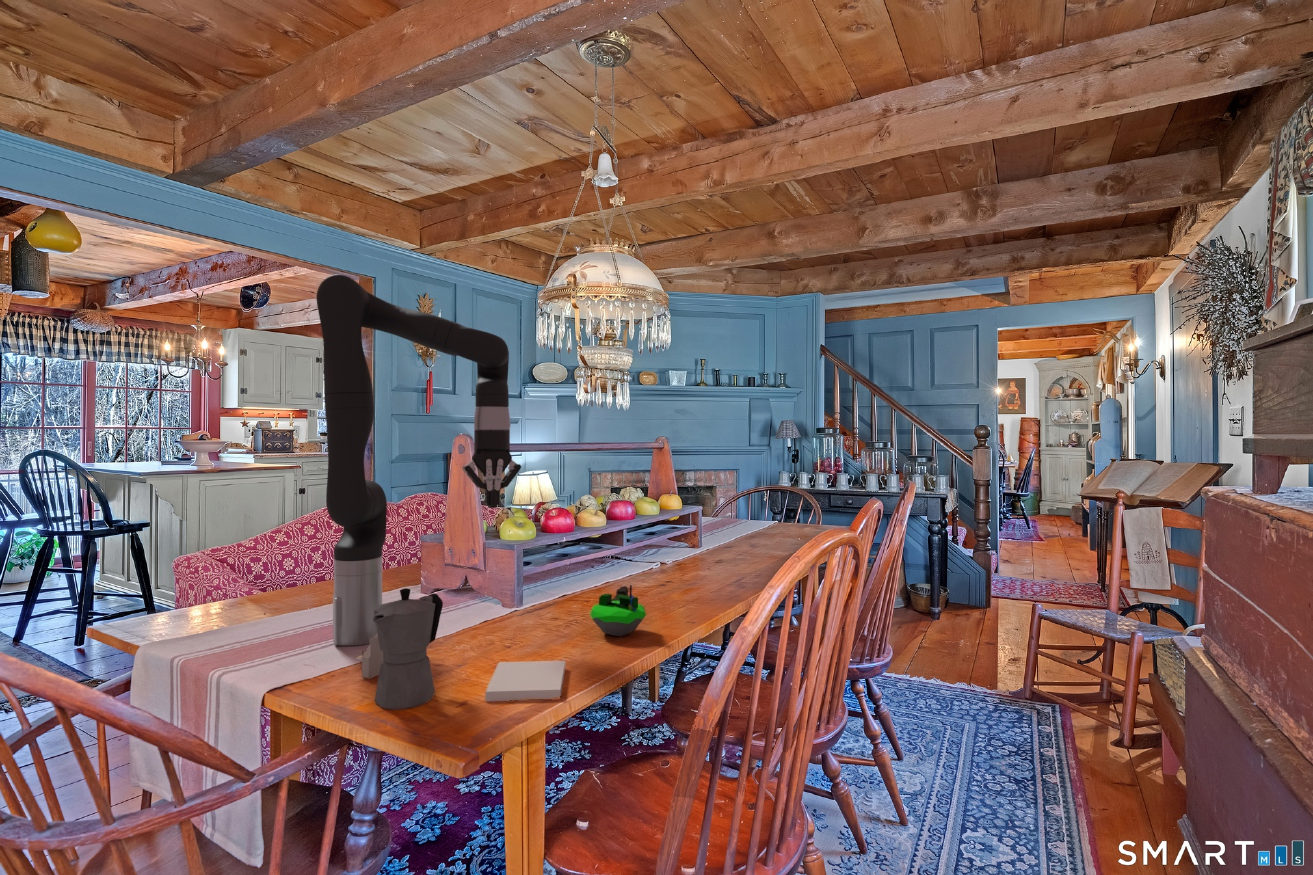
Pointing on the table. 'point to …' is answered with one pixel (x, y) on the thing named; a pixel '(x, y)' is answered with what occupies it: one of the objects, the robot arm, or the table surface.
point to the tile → (526, 681)
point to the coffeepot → (406, 650)
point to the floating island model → (618, 614)
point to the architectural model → (371, 658)
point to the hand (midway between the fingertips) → (492, 507)
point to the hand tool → (621, 593)
